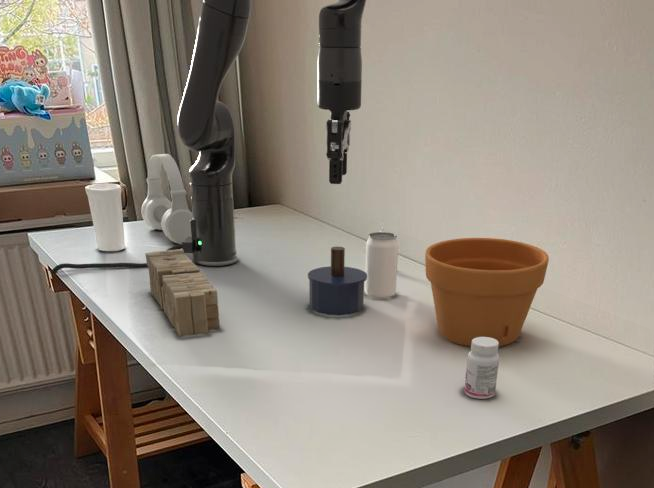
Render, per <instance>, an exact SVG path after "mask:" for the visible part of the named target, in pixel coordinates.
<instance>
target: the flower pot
mask: <svg viewBox="0 0 654 488" xmlns="http://www.w3.org/2000/svg"><path fill="white" fill-rule="evenodd" d="M424 253H425V254H424V255H425V256H424V257H425V258H424V260H425V261H424V263H425V267H424V268H425V277H426V279H427V280H428V282H430V288H431V292H432V298H433V299H432V300H433V304H434V311H435V317H436V323H437V328H438V331H439V333H440V335H441V336H442V337H443V339H446V340H447V341H449V342H451V343H454V344H458V345H461V346H465V347H470V348H471V343H472V340H473V339H474V338H477V337H490V338H494V339H496V340H497V341H498V342H499V345H498V348H500V347H502V346H506V345H509V344H511V343H514V342H515V341H516V340H518V338H519V337H520V334H521V332H522V329H523V327H524V324H525V321H526V320H527V316H528V314H529V311H530V309H531V307H532V304H533V301H534V299H535V296H536V293H537V291H538V290H539V288H541V286H543V284H544V282H545V279H546V275H547V269H548V264H549V261H550V259H549V255H548V253H547V252H546V251H545V250H543V249H541V248H539V247H538V246H534V245H532V244H529V243H525V242H521V241H517V240H511V239H504V238H493V237H461V238H454V239H453V238H452V239H447V240H442V241H439V242H436V243H433V244H431V245H430V246H428V247H427V248H426V249H425V252H424Z"/></svg>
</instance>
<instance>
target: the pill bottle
mask: <svg viewBox="0 0 654 488" xmlns="http://www.w3.org/2000/svg"><path fill="white" fill-rule="evenodd" d="M498 345H499V342H498V341H497V340H496V339H494V338H490V337H477V338H474V339H473V340H472V343H471V347H470V351H469V352H468V354H467V358H466V369H465V377H464V378H465V379H464V387H463V389H464V393H465V395H466V396H468V397H470V398H473V399H478V400H479V399H480V400H487V399H490V398H493V397H494V396H495V394H496V391H497V389H496V388H497V380H498V373H499V365H500V355H499V353H498V352H499V347H498Z"/></svg>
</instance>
